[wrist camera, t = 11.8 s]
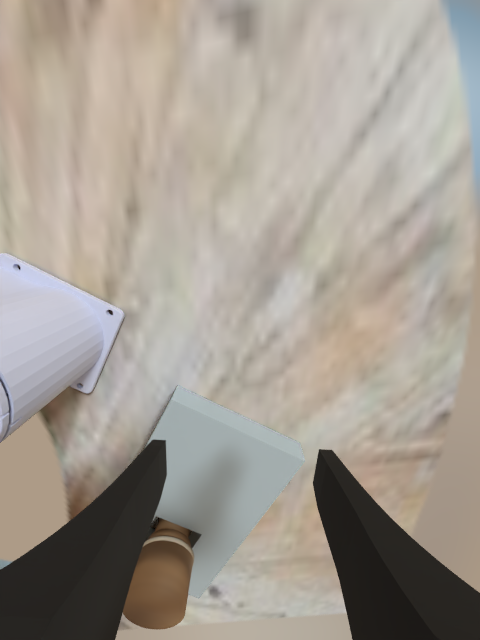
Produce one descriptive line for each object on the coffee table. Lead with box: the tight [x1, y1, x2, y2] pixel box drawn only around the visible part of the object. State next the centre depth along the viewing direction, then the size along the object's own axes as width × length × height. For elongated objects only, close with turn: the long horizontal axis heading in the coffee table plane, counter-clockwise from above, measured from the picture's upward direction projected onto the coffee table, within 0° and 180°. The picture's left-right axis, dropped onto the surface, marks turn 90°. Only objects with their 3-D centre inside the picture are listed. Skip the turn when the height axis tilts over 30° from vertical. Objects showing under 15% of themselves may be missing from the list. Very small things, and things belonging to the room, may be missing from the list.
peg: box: [123, 518, 194, 629], centre depth 23 cm, size 5×5×7 cm
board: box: [144, 386, 305, 598], centre depth 24 cm, size 12×20×2 cm, turn 152°
